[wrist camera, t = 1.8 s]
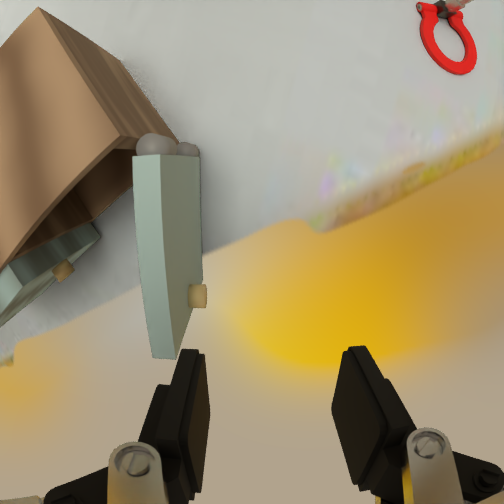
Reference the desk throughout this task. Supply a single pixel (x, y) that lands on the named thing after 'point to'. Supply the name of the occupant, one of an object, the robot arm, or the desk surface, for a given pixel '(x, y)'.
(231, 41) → the desk surface
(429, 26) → the tow hook
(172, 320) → the cabinet door
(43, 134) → the cabinet
